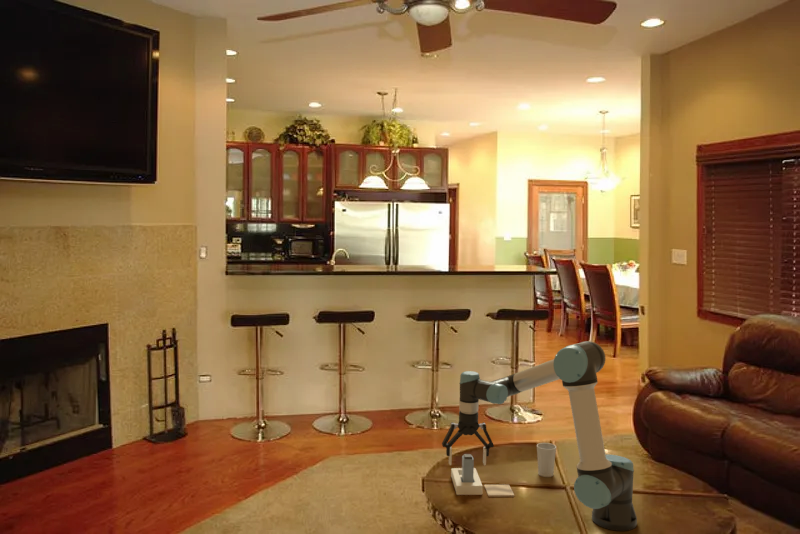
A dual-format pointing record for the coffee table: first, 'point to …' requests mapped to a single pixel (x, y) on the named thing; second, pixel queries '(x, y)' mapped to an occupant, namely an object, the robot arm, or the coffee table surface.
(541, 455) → the cup
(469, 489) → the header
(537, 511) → the coffee table surface
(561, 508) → the coffee table surface
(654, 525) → the coffee table surface
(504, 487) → the pad
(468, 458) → the plug
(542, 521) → the coffee table surface
